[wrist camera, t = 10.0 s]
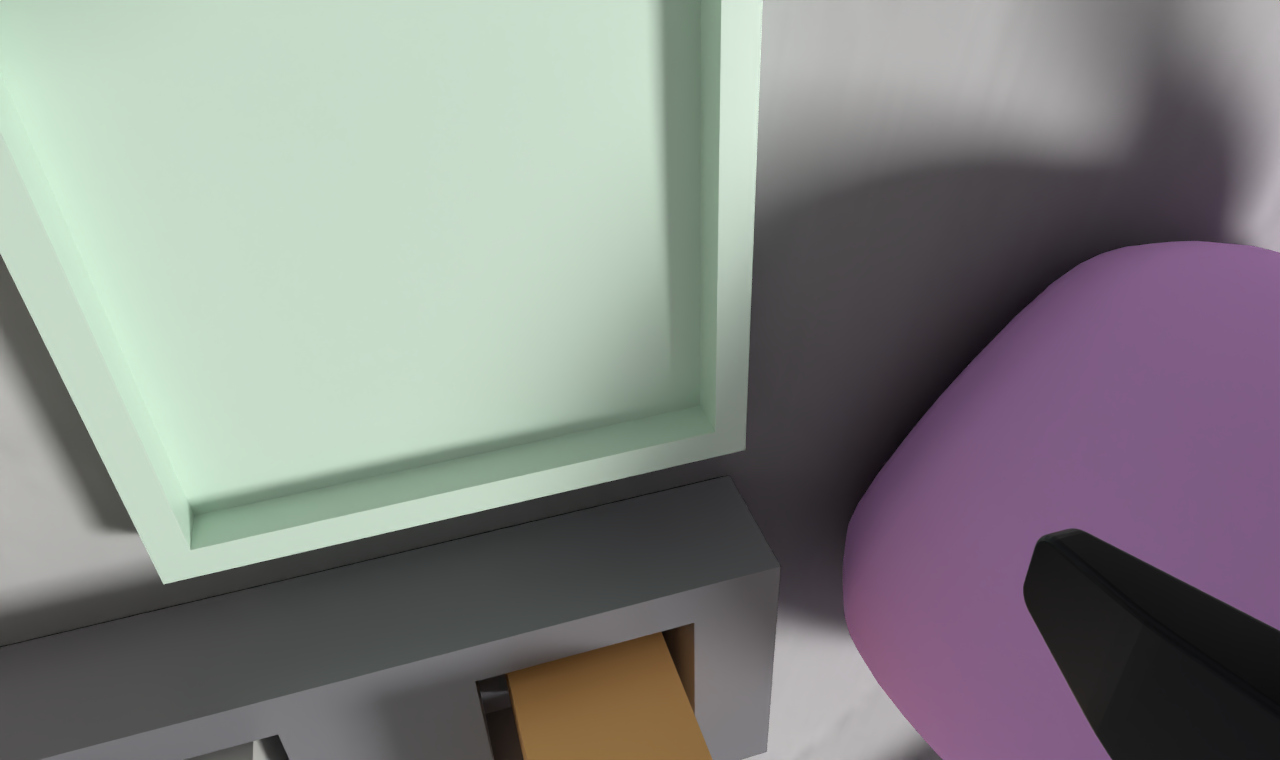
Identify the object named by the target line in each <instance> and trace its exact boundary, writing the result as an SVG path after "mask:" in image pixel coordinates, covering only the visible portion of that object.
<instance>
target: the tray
mask: <svg viewBox="0 0 1280 760" xmlns="http://www.w3.org/2000/svg"><path fill="white" fill-rule="evenodd" d="M762 9H763V0H0V254H1V256H2V258H3V260H4V262H5V264H6V266H7V268H8V270H9V272H10V274H11V276H12V278H13V280H14V282H15V284H16V286H17V288H18V290H19V292H20V294H21V297H22V299H23V301H24V303H25V305H26V307H27V309H28V311H29V313H30V315H31V317H32V319H33V321H34V323H35V325H36V327H37V329H38V331H39V333H40V335H41V337H42V339H43V341H44V343H45V345H46V347H47V349H48V351H49V353H50V355H51V357H52V359H53V361H54V363H55V365H56V367H57V370H58V372H59V374H60V376H61V378H62V380H63V382H64V384H65V386H66V388H67V390H68V392H69V394H70V396H71V398H72V400H73V402H74V404H75V406H76V408H77V410H78V412H79V414H80V416H81V418H82V420H83V422H84V424H85V426H86V428H87V430H88V432H89V434H90V436H91V438H92V440H93V442H94V445H95V447H96V449H97V451H98V453H99V455H100V457H101V459H102V461H103V463H104V465H105V467H106V469H107V471H108V473H109V475H110V477H111V479H112V481H113V483H114V485H115V487H116V489H117V491H118V493H119V495H120V497H121V499H122V501H123V503H124V505H125V507H126V509H127V511H128V513H129V515H130V518H131V520H132V522H133V524H134V526H135V528H136V530H137V532H138V534H139V536H140V538H141V540H142V542H143V544H144V546H145V548H146V550H147V552H148V554H149V556H150V558H151V560H152V562H153V564H154V566H155V568H156V570H157V572H158V574H159V576H160V578H161V580H162V582H163V584H167V583H172V582H176V581H180V580H185V579H189V578H193V577H198V576H202V575H206V574H211V573H215V572H219V571H224V570H228V569H232V568H237V567H241V566H245V565H250V564H254V563H258V562H263V561H267V560H271V559H276V558H280V557H284V556H289V555H293V554H297V553H302V552H306V551H310V550H315V549H319V548H323V547H328V546H332V545H336V544H341V543H345V542H349V541H354V540H358V539H362V538H367V537H371V536H375V535H380V534H384V533H388V532H393V531H397V530H401V529H406V528H410V527H414V526H419V525H423V524H427V523H432V522H436V521H440V520H445V519H449V518H453V517H458V516H462V515H466V514H471V513H475V512H479V511H484V510H488V509H492V508H496V507H501V506H505V505H509V504H514V503H518V502H522V501H527V500H531V499H535V498H540V497H544V496H548V495H553V494H557V493H561V492H566V491H570V490H574V489H579V488H583V487H587V486H592V485H596V484H600V483H605V482H609V481H613V480H618V479H622V478H626V477H631V476H635V475H639V474H644V473H648V472H652V471H657V470H661V469H665V468H670V467H674V466H678V465H683V464H687V463H691V462H696V461H700V460H704V459H709V458H713V457H717V456H722V455H726V454H730V453H735V452H739V451H743V450H745V446H746V420H747V394H748V369H749V343H750V317H751V292H752V266H753V240H754V214H755V189H756V163H757V137H758V112H759V86H760V60H761V35H762Z"/></svg>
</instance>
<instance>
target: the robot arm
mask: <svg viewBox="0 0 1280 760" xmlns="http://www.w3.org/2000/svg"><path fill="white" fill-rule="evenodd" d="M1023 595H1024V601H1025V604H1026V606H1027V609H1028V611H1029V613H1030V615H1031V617H1032V618H1033V620H1034V622H1035V624H1036V626H1037V628H1038V630H1039V632H1040V633H1041V635H1042V637H1043V639H1044V641H1045V643H1046V645H1047V646H1048V648H1049V650H1050V652H1051V654H1052V656H1053V658H1054V660H1055V661H1056V663H1057V665H1058V667H1059V669H1060V671H1061V673H1062V674H1063V676H1064V678H1065V680H1066V682H1067V684H1068V686H1069V688H1070V689H1071V691H1072V693H1073V695H1074V697H1075V699H1076V701H1077V702H1078V704H1079V706H1080V708H1081V710H1082V712H1083V714H1084V715H1085V717H1086V719H1087V721H1088V722H1089V724H1090V726H1091V728H1092V729H1093V731H1094V733H1095V735H1096V736H1097V738H1098V739H1099V741H1100V742H1101V744H1102V745H1103V747H1104V749H1105V750H1106V752H1107V753H1108V755H1109V756H1110V758H1111V759H1112V760H1280V630H1278V629H1276V628H1274V627H1272V626H1270V625H1268V624H1266V623H1264V622H1262V621H1260V620H1258V619H1256V618H1254V617H1252V616H1251V615H1249V614H1247V613H1245V612H1243V611H1241V610H1239V609H1237V608H1235V607H1233V606H1231V605H1229V604H1227V603H1225V602H1223V601H1221V600H1219V599H1217V598H1215V597H1213V596H1211V595H1209V594H1207V593H1205V592H1203V591H1201V590H1200V589H1198V588H1196V587H1194V586H1192V585H1190V584H1188V583H1186V582H1184V581H1182V580H1180V579H1178V578H1176V577H1174V576H1172V575H1170V574H1168V573H1166V572H1164V571H1162V570H1160V569H1158V568H1156V567H1154V566H1152V565H1151V564H1149V563H1147V562H1145V561H1143V560H1141V559H1139V558H1137V557H1135V556H1133V555H1131V554H1129V553H1127V552H1125V551H1123V550H1121V549H1119V548H1117V547H1115V546H1113V545H1111V544H1109V543H1107V542H1105V541H1103V540H1101V539H1100V538H1098V537H1096V536H1094V535H1092V534H1090V533H1088V532H1086V531H1083V530H1080V529H1076V528H1070V529H1065V530H1061V531H1057V532H1054V533H1050V534H1046V535H1043V536H1042V537H1041V538H1039V539H1038V541H1037V542H1036V545H1035V548H1034V551H1033V554H1032V558H1031V561H1030V564H1029V568H1028V571H1027V574H1026V577H1025V581H1024V585H1023Z"/></svg>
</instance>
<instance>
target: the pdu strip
mask: <svg viewBox="0 0 1280 760" xmlns="http://www.w3.org/2000/svg"><path fill="white" fill-rule="evenodd" d="M780 569H781V566H780V564H779V563H778V561H777V559H776V557H775V555H774V554H773V552H772V550H771V548H770V547H769V545H768V543H767V541H766V540H765V538H764V536H763V534H762V532H761V531H760V529H759V527H758V525H757V524H756V522H755V520H754V518H753V517H752V515H751V513H750V511H749V509H748V508H747V506H746V504H745V502H744V501H743V499H742V497H741V495H740V493H739V492H738V490H737V488H736V486H735V485H734V483H733V481H732V479H731V478H730V476H725V477H721V478H716V479H712V480H708V481H704V482H699V483H695V484H691V485H687V486H682V487H678V488H674V489H670V490H666V491H661V492H657V493H653V494H649V495H644V496H640V497H636V498H632V499H627V500H623V501H619V502H615V503H610V504H606V505H602V506H598V507H594V508H589V509H585V510H581V511H577V512H572V513H568V514H564V515H560V516H555V517H551V518H547V519H543V520H538V521H534V522H530V523H526V524H521V525H517V526H513V527H509V528H505V529H500V530H496V531H492V532H488V533H483V534H479V535H475V536H471V537H466V538H462V539H458V540H454V541H449V542H445V543H441V544H437V545H433V546H428V547H424V548H420V549H416V550H411V551H407V552H403V553H399V554H394V555H390V556H386V557H382V558H377V559H373V560H369V561H365V562H360V563H356V564H352V565H348V566H344V567H339V568H335V569H331V570H327V571H322V572H318V573H314V574H310V575H305V576H301V577H297V578H293V579H288V580H284V581H280V582H276V583H272V584H267V585H263V586H259V587H255V588H250V589H246V590H242V591H238V592H233V593H229V594H225V595H221V596H216V597H212V598H208V599H204V600H199V601H195V602H191V603H187V604H183V605H178V606H174V607H170V608H166V609H161V610H157V611H153V612H149V613H144V614H140V615H136V616H132V617H127V618H123V619H119V620H115V621H111V622H106V623H102V624H98V625H94V626H89V627H85V628H81V629H77V630H72V631H68V632H64V633H60V634H55V635H51V636H47V637H43V638H38V639H34V640H30V641H26V642H22V643H17V644H13V645H9V646H5V647H0V760H185V759H189V758H192V757H196V756H200V755H203V754H207V753H211V752H215V751H218V750H222V749H226V748H229V747H233V746H237V745H241V744H244V743H248V742H252V741H256V740H259V739H263V738H267V737H270V736H274V735H279V738H280V740H281V742H282V744H283V746H284V749H285V751H286V753H287V755H288V758H289V760H524V759H523V755H522V750H521V746H520V742H519V737H518V733H517V728H516V724H515V719H514V715H513V710H512V706H511V701H510V697H509V692H508V687H507V682H506V677H505V673H509V672H512V671H516V670H520V669H524V668H527V667H531V666H535V665H539V664H542V663H546V662H550V661H553V660H557V659H561V658H565V657H568V656H572V655H576V654H580V653H583V652H587V651H591V650H594V649H598V648H602V647H606V646H609V645H613V644H617V643H620V642H624V641H628V640H632V639H635V638H639V637H643V636H647V635H650V634H654V633H658V632H662V635H663V637H664V640H665V642H666V645H667V647H668V650H669V652H670V655H671V657H672V660H673V662H674V665H675V667H676V670H677V672H678V675H679V677H680V680H681V682H682V685H683V687H684V690H685V692H686V695H687V697H688V700H689V702H690V705H691V707H692V710H693V712H694V715H695V717H696V720H697V722H698V725H699V727H700V730H701V732H702V735H703V737H704V740H705V742H706V745H707V747H708V750H709V752H710V755H711V757H712V760H742V759H745V758H748V757H751V756H755V755H758V754H761V753H765V752H767V742H768V728H769V715H770V702H771V688H772V675H773V662H774V648H775V635H776V622H777V609H778V595H779V582H780Z"/></svg>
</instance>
